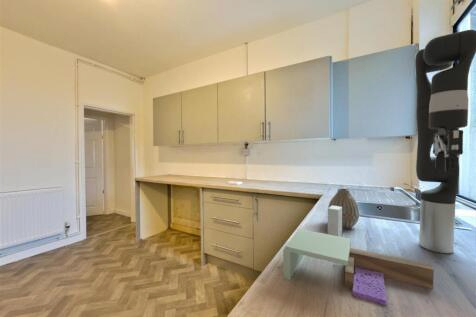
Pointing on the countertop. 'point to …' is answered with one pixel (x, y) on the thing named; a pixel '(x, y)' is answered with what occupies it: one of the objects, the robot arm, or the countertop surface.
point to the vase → (346, 208)
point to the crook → (389, 268)
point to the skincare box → (335, 220)
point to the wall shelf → (314, 249)
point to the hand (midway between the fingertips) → (445, 170)
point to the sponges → (369, 285)
